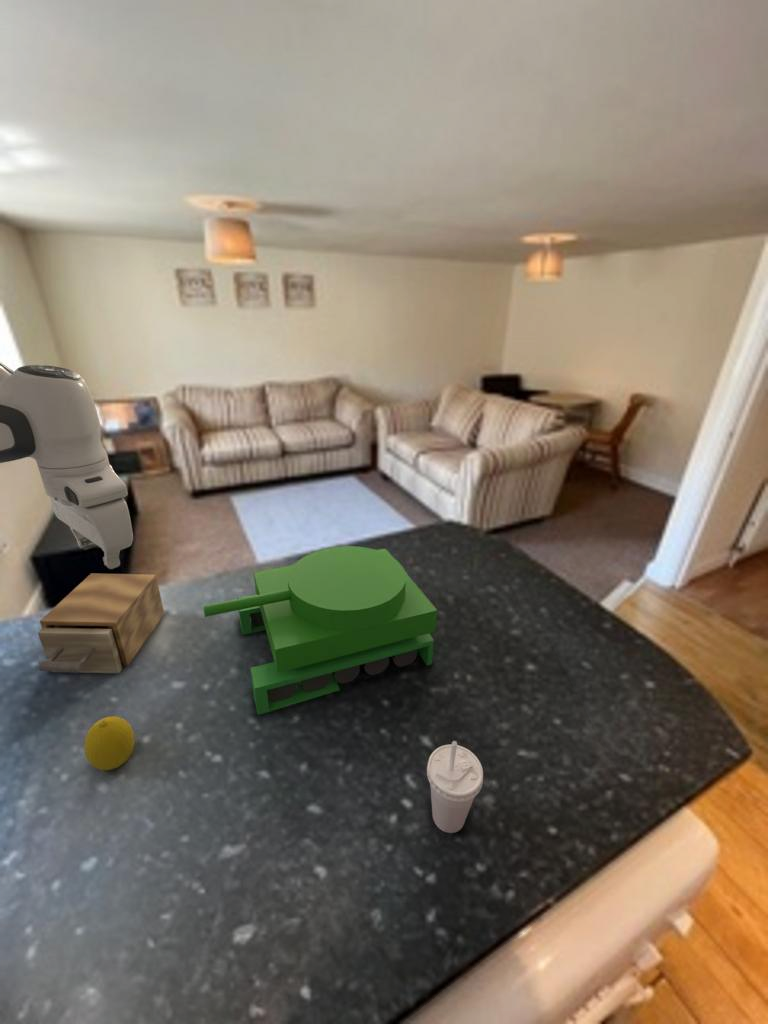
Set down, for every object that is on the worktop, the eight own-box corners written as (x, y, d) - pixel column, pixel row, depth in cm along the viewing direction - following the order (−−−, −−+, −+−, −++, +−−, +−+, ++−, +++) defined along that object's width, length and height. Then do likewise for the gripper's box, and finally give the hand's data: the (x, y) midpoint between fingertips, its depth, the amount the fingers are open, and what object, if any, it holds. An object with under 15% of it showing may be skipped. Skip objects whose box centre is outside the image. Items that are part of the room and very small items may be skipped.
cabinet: (129, 670, 76) (116, 622, 72) (56, 669, 76) (39, 621, 71) (165, 617, 89) (156, 574, 84) (103, 616, 88) (91, 573, 84)
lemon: (112, 790, 57) (97, 747, 54) (83, 772, 59) (67, 730, 56) (149, 755, 62) (137, 713, 58) (121, 739, 64) (108, 698, 60)
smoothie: (414, 803, 57) (421, 725, 51) (459, 789, 59) (471, 712, 53) (434, 857, 51) (444, 776, 46) (483, 840, 53) (500, 760, 47)
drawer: (103, 695, 70) (90, 654, 66) (32, 694, 70) (16, 652, 66) (154, 623, 86) (146, 587, 82) (97, 622, 85) (86, 585, 82)
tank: (211, 629, 86) (199, 556, 79) (379, 593, 98) (382, 527, 92) (221, 732, 65) (206, 644, 59) (432, 669, 78) (440, 591, 71)
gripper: (28, 467, 71) (52, 544, 77) (84, 501, 60) (107, 587, 66) (72, 458, 76) (91, 531, 82) (132, 488, 65) (149, 569, 71)
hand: (99, 556), depth 74 cm, fingers open, 8 cm apart
